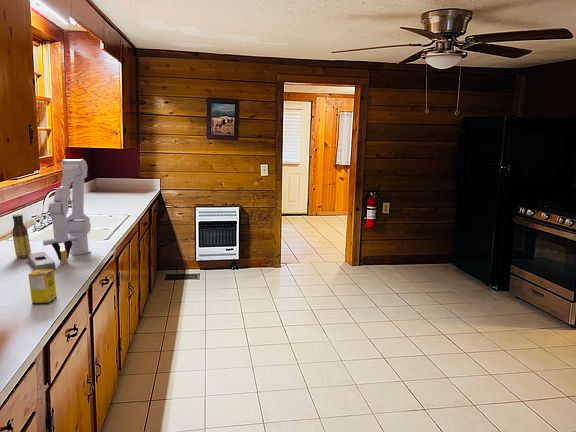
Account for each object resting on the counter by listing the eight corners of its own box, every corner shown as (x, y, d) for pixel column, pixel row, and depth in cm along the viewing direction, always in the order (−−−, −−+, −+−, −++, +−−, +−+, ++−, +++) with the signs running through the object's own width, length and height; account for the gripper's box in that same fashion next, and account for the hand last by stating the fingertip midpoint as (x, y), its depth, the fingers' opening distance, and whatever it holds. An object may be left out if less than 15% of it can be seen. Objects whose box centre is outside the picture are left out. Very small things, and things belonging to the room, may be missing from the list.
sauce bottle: (27, 254, 229) (23, 213, 225) (33, 256, 225) (29, 214, 221) (13, 257, 224) (7, 215, 220) (18, 259, 220) (13, 216, 216)
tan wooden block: (59, 262, 215) (58, 249, 214) (65, 261, 217) (64, 248, 216) (61, 264, 212) (60, 251, 211) (67, 263, 214) (66, 250, 213)
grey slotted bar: (27, 260, 218) (27, 254, 218) (44, 258, 223) (44, 251, 222) (37, 272, 201) (36, 265, 201) (55, 269, 205) (55, 262, 205)
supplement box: (57, 298, 172) (54, 268, 170) (49, 304, 166) (46, 273, 164) (39, 298, 172) (36, 268, 169) (31, 304, 166) (28, 274, 164)
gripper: (44, 232, 204) (47, 263, 207) (80, 228, 213) (83, 258, 215) (40, 229, 210) (43, 260, 212) (76, 225, 218) (79, 254, 221)
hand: (63, 258), depth 214 cm, fingers closed on tan wooden block, 2 cm apart
